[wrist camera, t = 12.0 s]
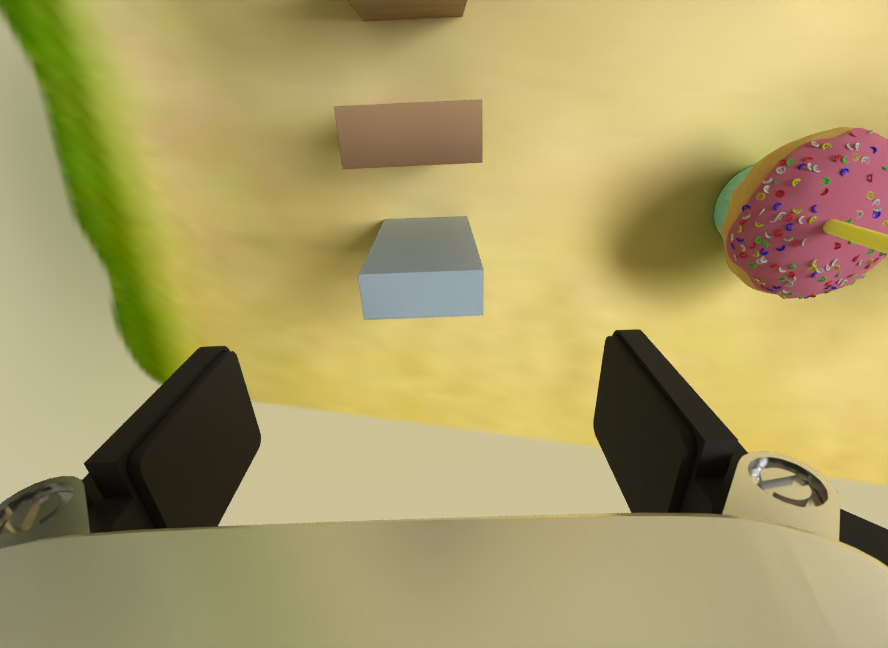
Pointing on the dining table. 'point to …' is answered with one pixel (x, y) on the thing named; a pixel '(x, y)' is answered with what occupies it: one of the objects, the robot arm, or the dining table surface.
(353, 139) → the domino
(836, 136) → the cupcake
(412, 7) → the domino
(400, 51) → the dining table surface
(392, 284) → the domino
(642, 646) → the robot arm
